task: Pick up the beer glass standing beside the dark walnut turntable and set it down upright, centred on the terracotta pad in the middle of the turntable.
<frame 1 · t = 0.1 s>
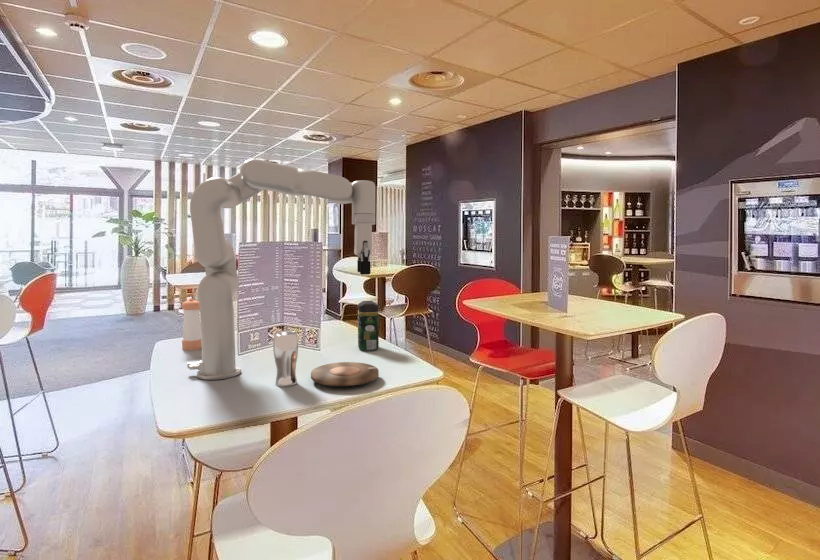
hand: (363, 273, 146), 31 cm above the table, tool pointing down, fingers open, 9 cm apart
beer glass: (286, 384, 132), on the table
orange and white bottle: (193, 348, 173), on the table
turntable: (345, 372, 135), point 2 cm above the table, hinge at 0.0°
coffee jar: (368, 349, 174), on the table
turntable base: (345, 380, 135), on the table
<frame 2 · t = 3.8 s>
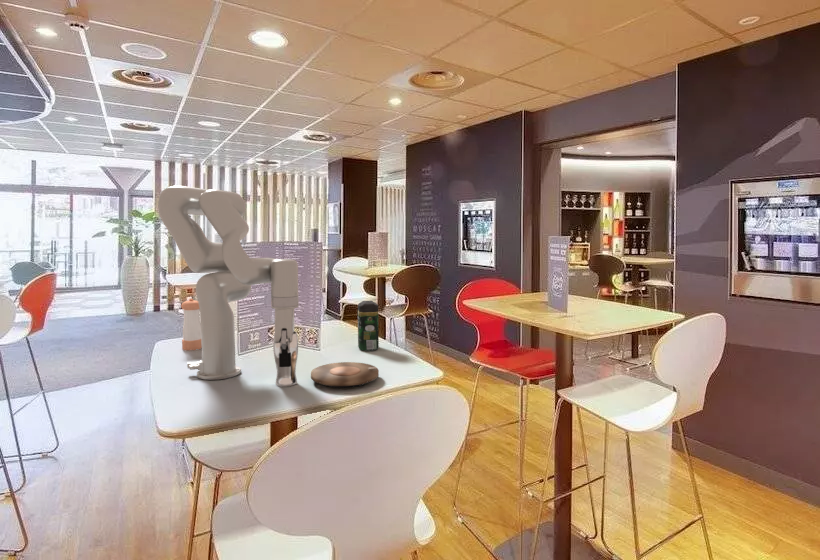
hand: (286, 362, 131), 6 cm above the table, tool pointing down, fingers closed on beer glass, 6 cm apart
beer glass: (286, 384, 132), on the table, touching gripper
everything else where it was.
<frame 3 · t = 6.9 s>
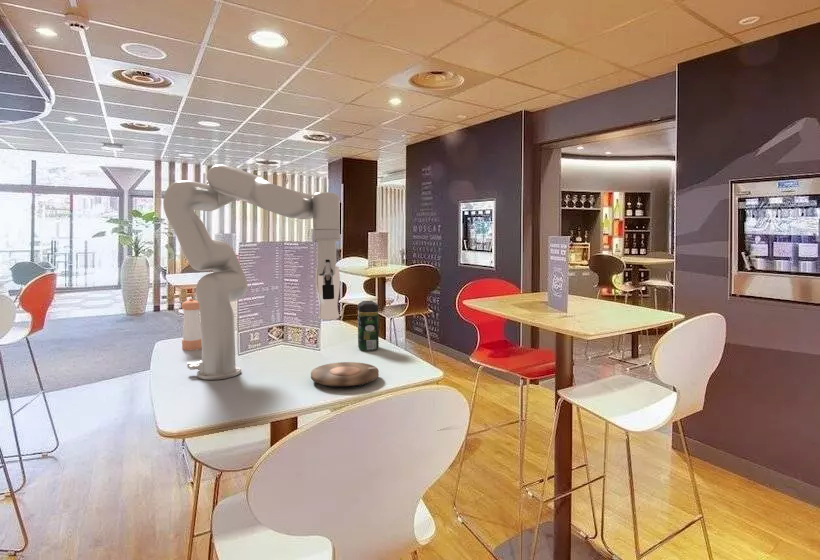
hand: (328, 297, 132), 25 cm above the table, tool pointing down, fingers closed on beer glass, 6 cm apart
beer glass: (328, 318, 132), point 19 cm above the table, touching gripper
everything else where it was.
when the fingers open (10 cm above the table, at t = 10.5 s): beer glass drops 1 cm, resting on turntable.
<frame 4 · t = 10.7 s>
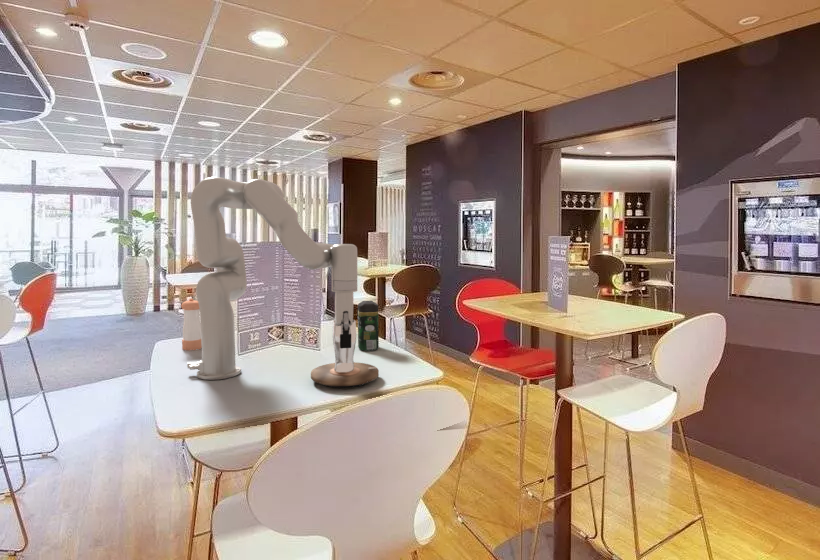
hand: (344, 344, 134), 11 cm above the table, tool pointing down, fingers open, 8 cm apart
beer glass: (344, 371, 134), point 3 cm above the table, touching turntable
turntable: (345, 372, 135), point 2 cm above the table, hinge at 0.0°, touching beer glass
everything else where it was.
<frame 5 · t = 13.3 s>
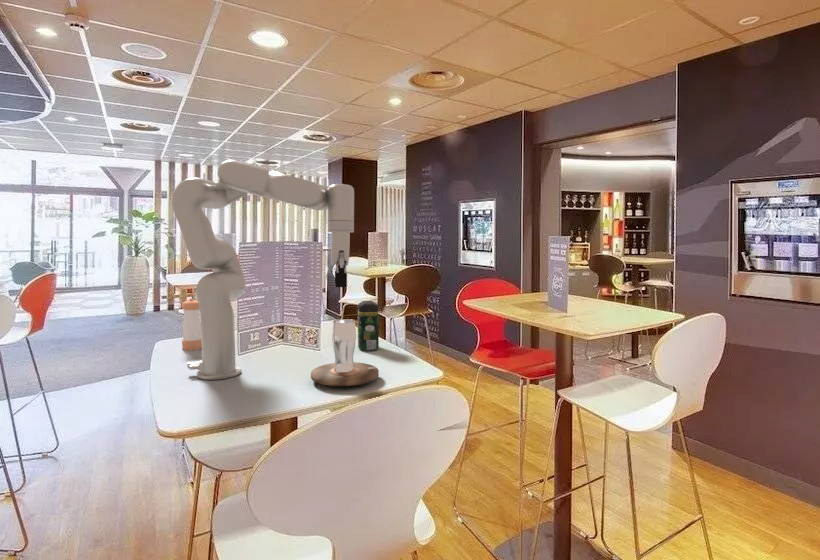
hand: (340, 285, 134), 28 cm above the table, tool pointing down, fingers open, 9 cm apart
nothing on the table moved.
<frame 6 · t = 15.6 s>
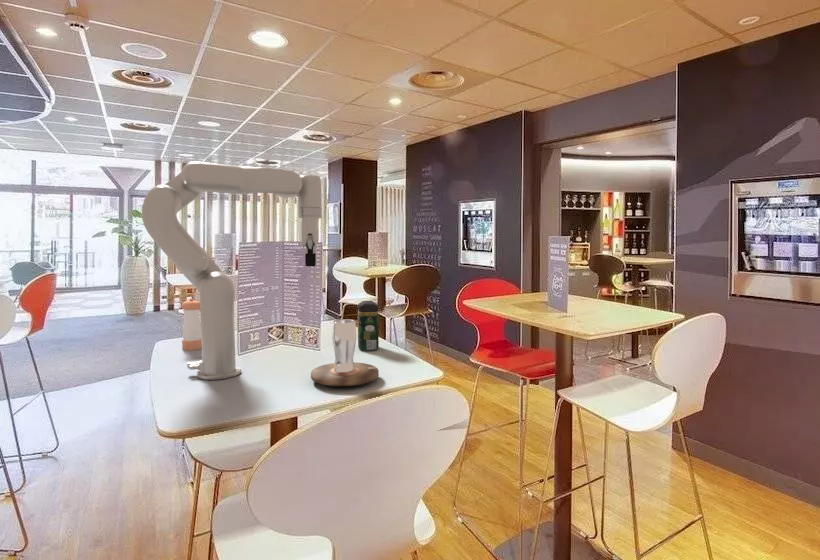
hand: (310, 265, 150), 33 cm above the table, tool pointing down, fingers open, 9 cm apart
nothing on the table moved.
at the end: beer glass 0.3 cm off-centre on the turntable, point 2.8 cm above the turntable's base; beer glass tilted 0°; the gripper is holding nothing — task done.
